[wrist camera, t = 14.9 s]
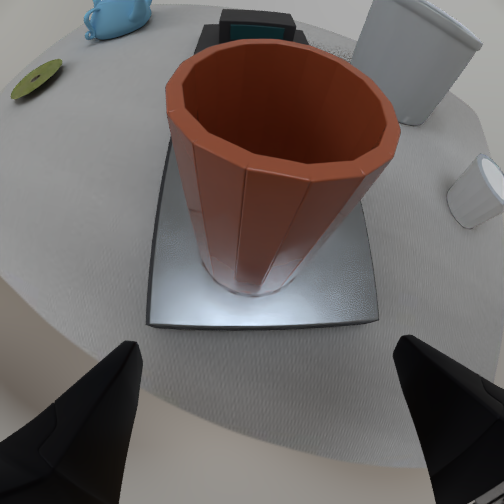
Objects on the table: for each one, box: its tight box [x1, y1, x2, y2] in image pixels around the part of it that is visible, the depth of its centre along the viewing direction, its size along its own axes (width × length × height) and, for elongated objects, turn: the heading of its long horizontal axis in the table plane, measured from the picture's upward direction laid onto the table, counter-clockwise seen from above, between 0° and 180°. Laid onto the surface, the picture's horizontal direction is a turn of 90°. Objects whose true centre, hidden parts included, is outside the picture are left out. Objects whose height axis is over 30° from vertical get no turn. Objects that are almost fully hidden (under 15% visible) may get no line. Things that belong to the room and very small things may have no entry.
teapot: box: [84, 0, 152, 40], centre depth 31 cm, size 15×15×10 cm
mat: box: [11, 59, 62, 99], centre depth 28 cm, size 11×11×2 cm
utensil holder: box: [350, 0, 483, 125], centre depth 23 cm, size 15×15×18 cm
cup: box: [165, 39, 401, 295], centre depth 12 cm, size 7×7×12 cm
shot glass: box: [447, 153, 504, 229], centre depth 22 cm, size 7×7×7 cm
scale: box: [146, 9, 379, 331], centre depth 24 cm, size 44×16×6 cm, turn 1°
